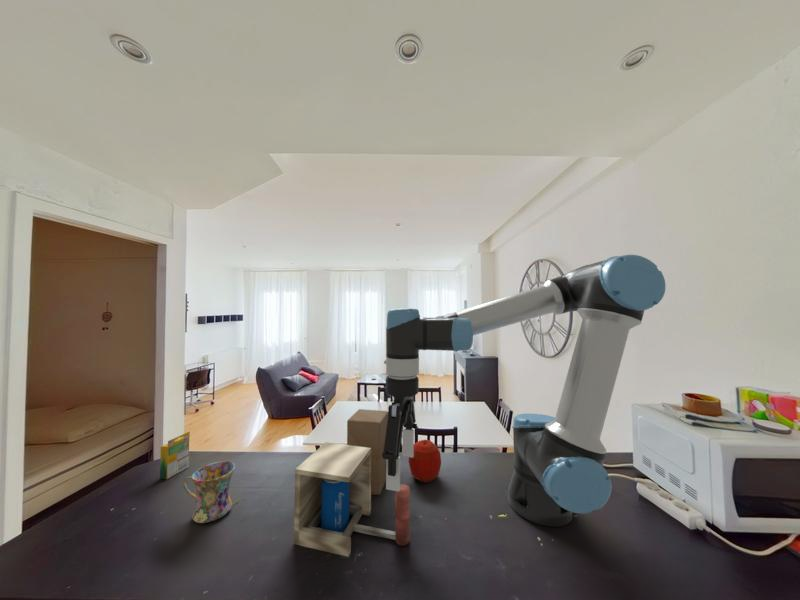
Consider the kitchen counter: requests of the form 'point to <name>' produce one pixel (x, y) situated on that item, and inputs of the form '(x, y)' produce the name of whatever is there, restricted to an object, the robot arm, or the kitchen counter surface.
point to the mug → (211, 491)
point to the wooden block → (370, 441)
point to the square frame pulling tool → (400, 528)
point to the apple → (425, 461)
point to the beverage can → (334, 505)
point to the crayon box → (174, 456)
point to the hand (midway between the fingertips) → (401, 471)
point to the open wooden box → (308, 492)
